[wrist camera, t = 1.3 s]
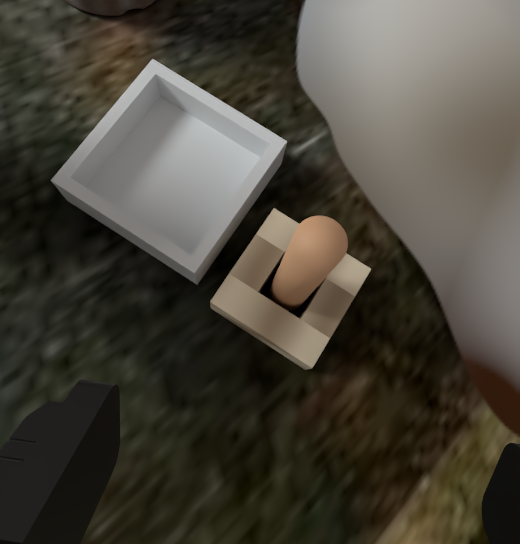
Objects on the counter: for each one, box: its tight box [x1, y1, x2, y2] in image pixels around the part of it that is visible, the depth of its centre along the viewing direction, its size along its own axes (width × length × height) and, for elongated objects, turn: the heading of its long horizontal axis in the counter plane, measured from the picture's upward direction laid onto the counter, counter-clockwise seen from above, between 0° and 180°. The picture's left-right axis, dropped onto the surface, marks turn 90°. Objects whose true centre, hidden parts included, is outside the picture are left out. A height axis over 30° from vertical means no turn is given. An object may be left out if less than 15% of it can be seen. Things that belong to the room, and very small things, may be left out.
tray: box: [51, 59, 287, 285], centre depth 39 cm, size 13×13×4 cm
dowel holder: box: [210, 208, 371, 370], centre depth 38 cm, size 9×9×3 cm
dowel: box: [269, 216, 348, 311], centre depth 33 cm, size 3×3×14 cm
